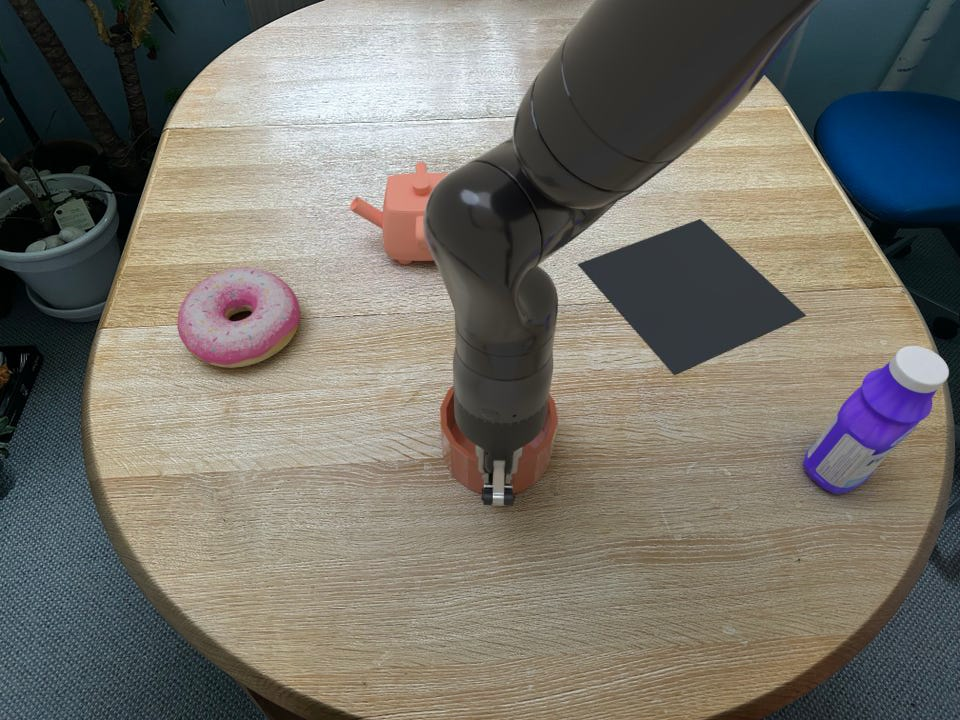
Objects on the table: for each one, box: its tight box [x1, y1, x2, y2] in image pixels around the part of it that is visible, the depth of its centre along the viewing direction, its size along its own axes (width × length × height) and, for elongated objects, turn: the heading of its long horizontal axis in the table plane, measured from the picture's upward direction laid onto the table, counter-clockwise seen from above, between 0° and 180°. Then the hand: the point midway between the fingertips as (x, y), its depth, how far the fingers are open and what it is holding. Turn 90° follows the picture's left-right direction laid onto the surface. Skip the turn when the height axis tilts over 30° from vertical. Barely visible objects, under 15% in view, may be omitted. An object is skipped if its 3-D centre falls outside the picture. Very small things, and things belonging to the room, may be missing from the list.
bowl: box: [440, 385, 559, 495], centre depth 67 cm, size 11×11×6 cm
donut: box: [176, 267, 302, 369], centre depth 77 cm, size 14×13×5 cm
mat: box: [577, 218, 807, 376], centre depth 84 cm, size 20×20×1 cm
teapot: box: [349, 161, 449, 265], centre depth 84 cm, size 14×12×10 cm
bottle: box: [802, 345, 950, 495], centre depth 62 cm, size 7×6×17 cm
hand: (495, 487), depth 65 cm, fingers closed on bowl, 1 cm apart
